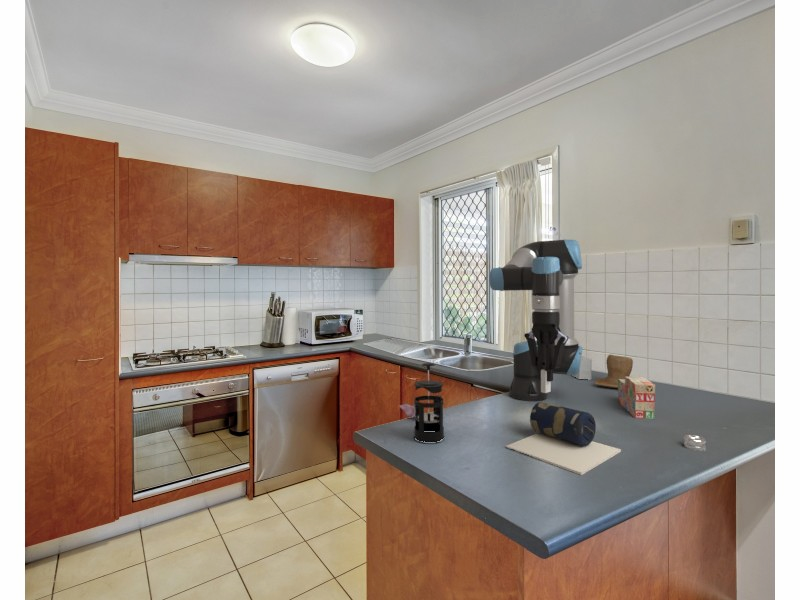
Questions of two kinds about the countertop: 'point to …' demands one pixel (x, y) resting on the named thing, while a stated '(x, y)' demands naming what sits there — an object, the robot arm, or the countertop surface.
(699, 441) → the grooved metal pulley
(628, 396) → the stack of blocks
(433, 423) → the french press
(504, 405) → the countertop surface
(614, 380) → the brown wooden stand
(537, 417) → the canister
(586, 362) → the skincare box
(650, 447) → the countertop surface
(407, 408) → the rabbit figure
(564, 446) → the mat
